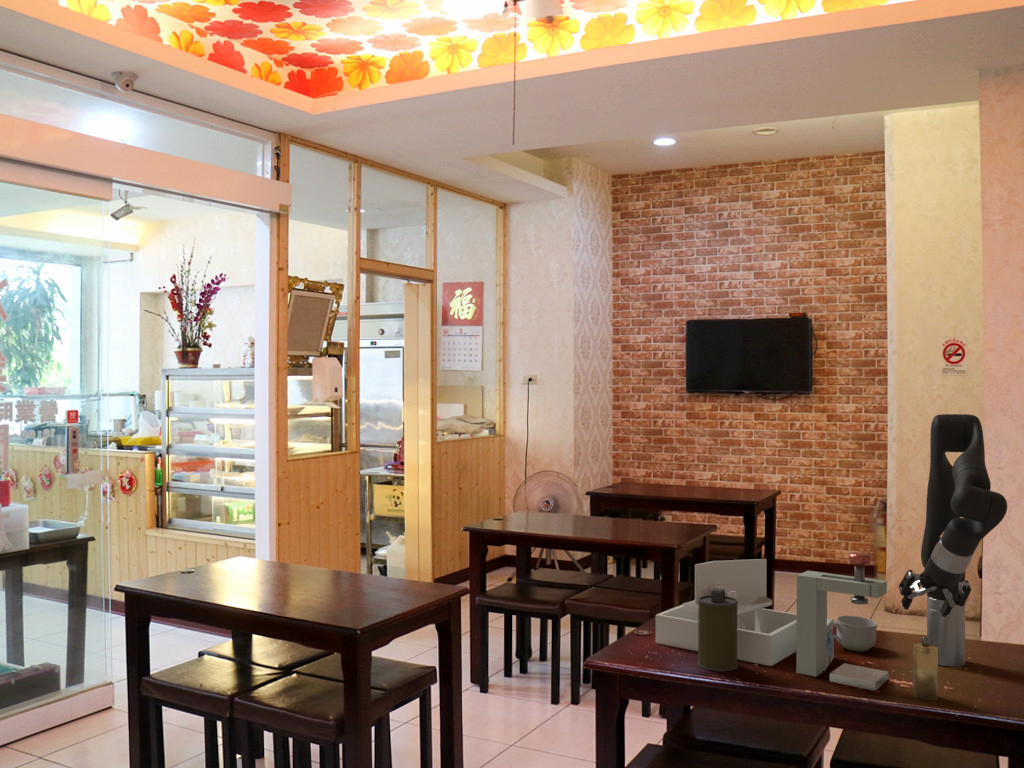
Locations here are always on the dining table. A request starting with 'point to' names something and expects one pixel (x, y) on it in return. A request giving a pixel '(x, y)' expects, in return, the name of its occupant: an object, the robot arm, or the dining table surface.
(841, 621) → the teacup
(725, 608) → the canister
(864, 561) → the ram
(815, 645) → the press frame
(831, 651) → the light bulb box
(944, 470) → the robot arm
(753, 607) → the upright panel with ledge
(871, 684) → the plate
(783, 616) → the box
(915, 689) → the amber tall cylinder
